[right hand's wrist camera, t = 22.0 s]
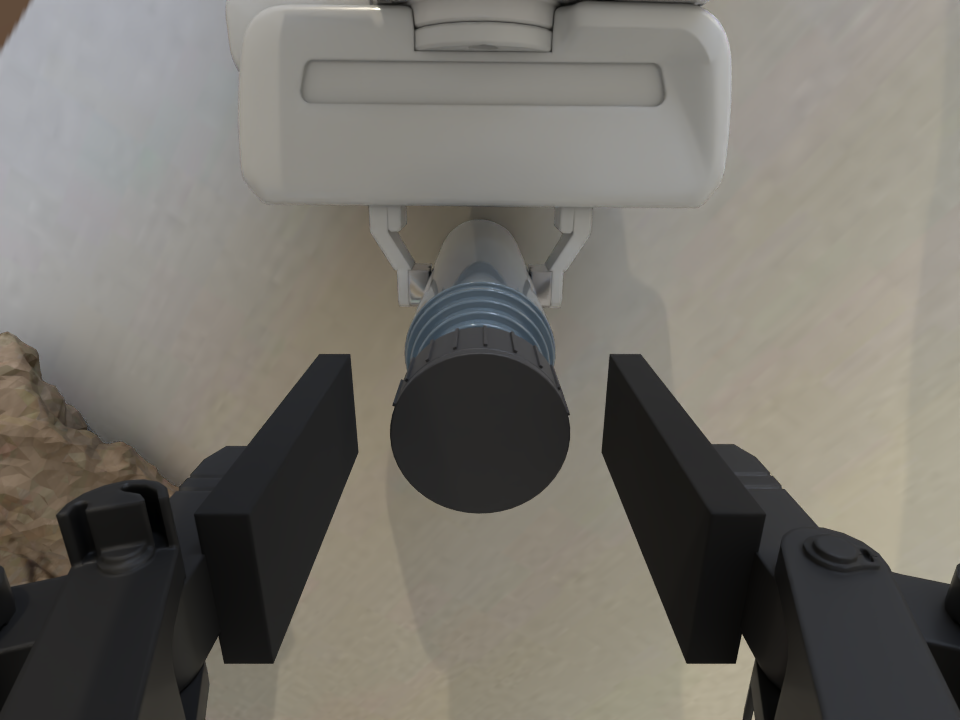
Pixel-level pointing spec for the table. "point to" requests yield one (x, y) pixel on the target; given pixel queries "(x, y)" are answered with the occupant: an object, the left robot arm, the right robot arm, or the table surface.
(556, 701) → the table surface
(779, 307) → the table surface
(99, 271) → the table surface
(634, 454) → the right robot arm
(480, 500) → the cap
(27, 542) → the stone
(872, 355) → the table surface
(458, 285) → the bottle
